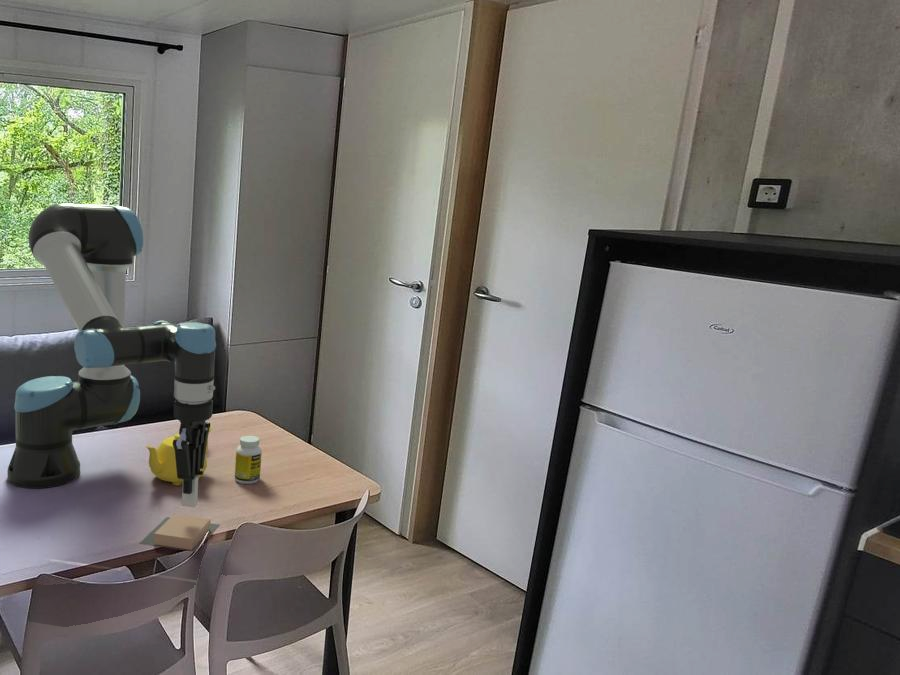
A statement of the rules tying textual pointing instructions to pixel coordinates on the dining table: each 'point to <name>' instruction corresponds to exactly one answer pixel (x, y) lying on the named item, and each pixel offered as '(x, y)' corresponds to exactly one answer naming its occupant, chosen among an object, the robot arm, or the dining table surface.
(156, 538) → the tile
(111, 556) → the dining table surface
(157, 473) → the teapot
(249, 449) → the pill bottle
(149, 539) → the mat
